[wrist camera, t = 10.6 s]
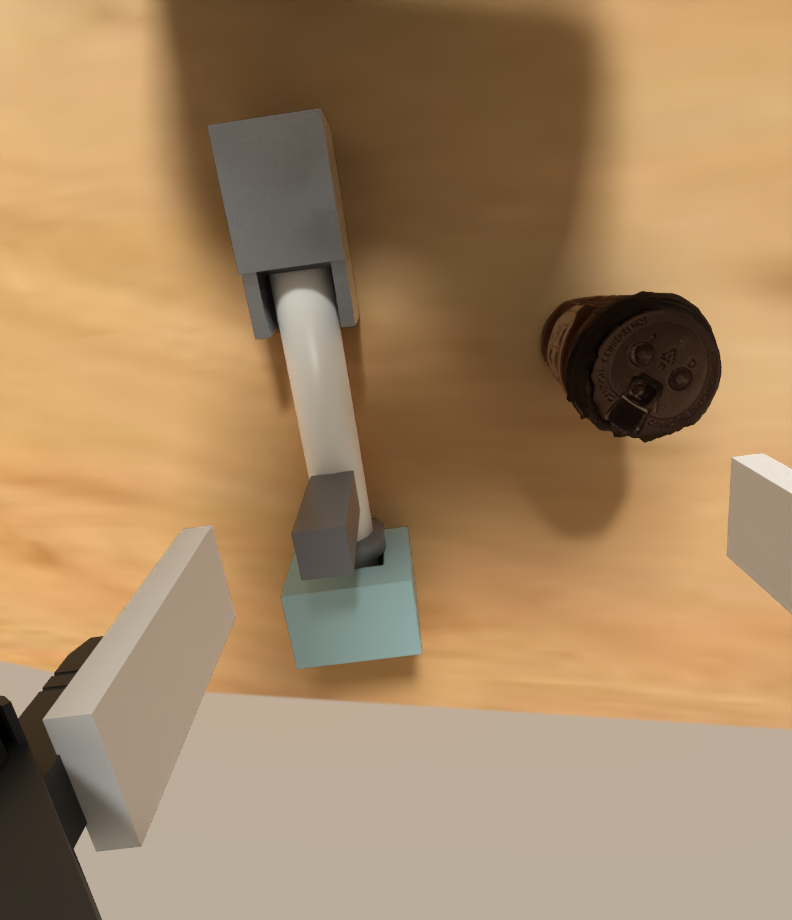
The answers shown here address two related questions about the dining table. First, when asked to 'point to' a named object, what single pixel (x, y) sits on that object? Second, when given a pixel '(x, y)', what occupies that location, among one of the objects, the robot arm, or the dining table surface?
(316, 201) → the sleeve
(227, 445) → the dining table surface
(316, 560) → the tube
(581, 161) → the dining table surface
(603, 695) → the dining table surface
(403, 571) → the socket
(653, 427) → the coffee cup
